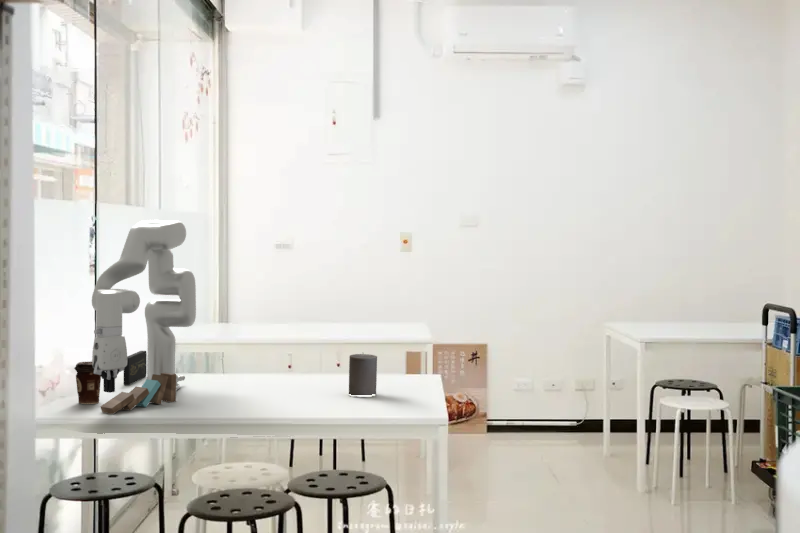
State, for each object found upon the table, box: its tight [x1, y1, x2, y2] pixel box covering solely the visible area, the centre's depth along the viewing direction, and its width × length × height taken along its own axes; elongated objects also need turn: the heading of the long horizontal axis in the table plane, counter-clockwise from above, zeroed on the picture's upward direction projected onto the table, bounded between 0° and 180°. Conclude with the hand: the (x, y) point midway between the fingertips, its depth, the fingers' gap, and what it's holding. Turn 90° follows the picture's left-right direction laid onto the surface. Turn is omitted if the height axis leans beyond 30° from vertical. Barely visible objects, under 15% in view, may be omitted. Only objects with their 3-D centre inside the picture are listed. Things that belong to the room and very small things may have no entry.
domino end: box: [161, 373, 177, 403], centre depth 293 cm, size 2×5×9 cm, turn 58°
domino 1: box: [120, 386, 149, 412], centre depth 281 cm, size 2×5×9 cm
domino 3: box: [148, 374, 168, 405], centre depth 289 cm, size 2×5×9 cm, turn 60°
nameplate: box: [123, 350, 148, 386], centre depth 331 cm, size 21×2×10 cm, turn 179°
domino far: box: [100, 391, 135, 415], centre depth 275 cm, size 2×5×9 cm
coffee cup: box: [73, 361, 102, 405], centre depth 288 cm, size 9×8×13 cm
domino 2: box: [135, 379, 161, 408], centre depth 285 cm, size 2×5×9 cm
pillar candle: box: [348, 353, 378, 395], centre depth 308 cm, size 10×10×15 cm
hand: (109, 391), depth 273 cm, fingers closed
